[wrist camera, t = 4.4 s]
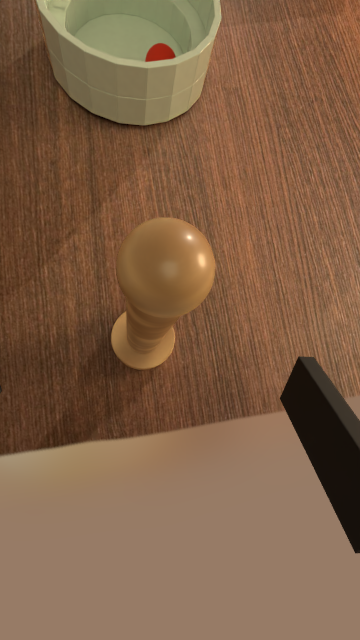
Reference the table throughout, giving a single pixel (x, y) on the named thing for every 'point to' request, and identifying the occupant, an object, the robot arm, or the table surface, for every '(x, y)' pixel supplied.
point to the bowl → (130, 54)
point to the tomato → (159, 53)
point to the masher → (159, 287)
